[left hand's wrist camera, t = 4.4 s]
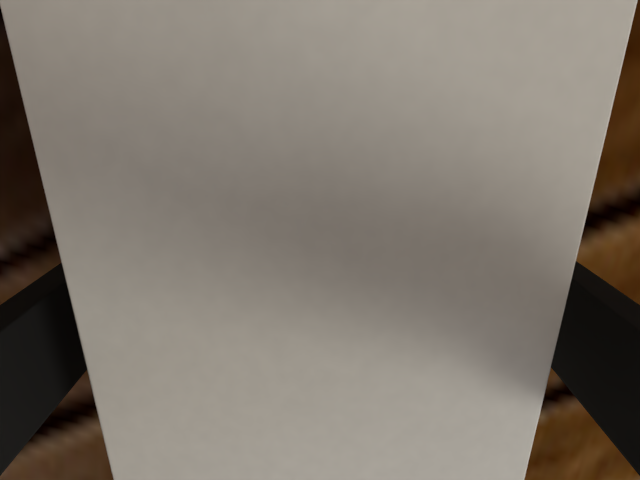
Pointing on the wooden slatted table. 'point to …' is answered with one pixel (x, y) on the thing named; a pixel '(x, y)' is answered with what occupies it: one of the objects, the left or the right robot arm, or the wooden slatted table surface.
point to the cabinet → (318, 222)
